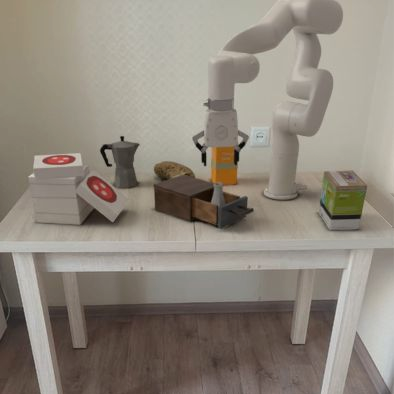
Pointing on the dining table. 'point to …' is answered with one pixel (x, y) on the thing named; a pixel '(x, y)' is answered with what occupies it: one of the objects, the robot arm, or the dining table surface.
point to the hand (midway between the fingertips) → (220, 164)
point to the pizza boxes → (71, 190)
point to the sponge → (172, 170)
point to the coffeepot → (122, 162)
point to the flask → (218, 195)
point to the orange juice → (223, 165)
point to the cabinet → (179, 195)
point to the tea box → (342, 200)
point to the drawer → (220, 209)
